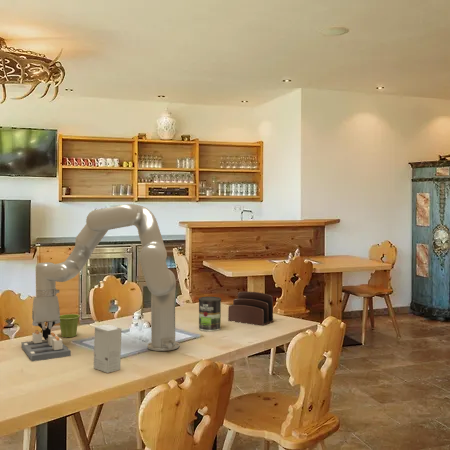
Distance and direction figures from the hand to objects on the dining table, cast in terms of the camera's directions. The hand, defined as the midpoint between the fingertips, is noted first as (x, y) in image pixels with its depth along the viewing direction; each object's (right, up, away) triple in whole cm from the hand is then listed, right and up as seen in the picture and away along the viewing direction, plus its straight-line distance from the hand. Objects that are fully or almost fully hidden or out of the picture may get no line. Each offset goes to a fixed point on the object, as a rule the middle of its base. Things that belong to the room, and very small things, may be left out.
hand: (46, 338), depth 214 cm
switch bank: (+2, -4, -7) cm, 8 cm away
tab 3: (+8, -1, -12) cm, 14 cm away
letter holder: (+84, -2, +45) cm, 95 cm away
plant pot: (+4, -3, +17) cm, 18 cm away
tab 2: (+4, -1, -6) cm, 7 cm away
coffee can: (+65, -2, +30) cm, 71 cm away
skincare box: (+31, -5, -29) cm, 43 cm away
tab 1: (-3, -1, -2) cm, 4 cm away
